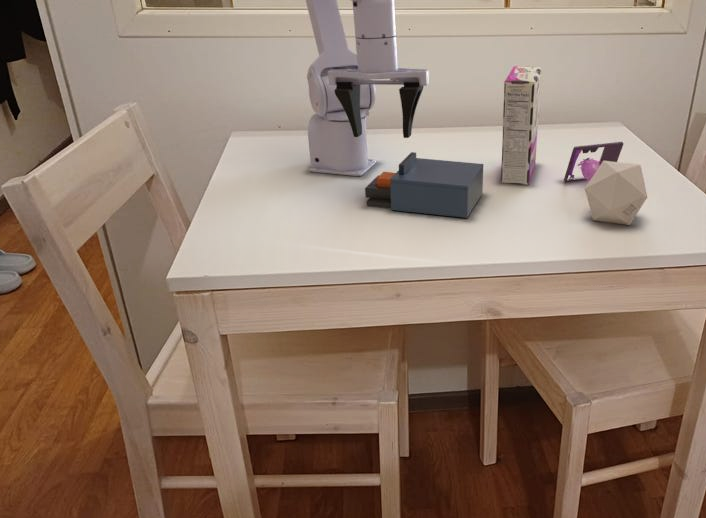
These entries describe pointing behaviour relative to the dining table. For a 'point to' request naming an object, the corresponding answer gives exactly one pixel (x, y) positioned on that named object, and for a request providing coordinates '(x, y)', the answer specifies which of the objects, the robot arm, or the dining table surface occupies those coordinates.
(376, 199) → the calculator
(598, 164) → the purple piece
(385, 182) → the on key
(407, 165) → the cover
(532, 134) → the candy bar box
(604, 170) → the die
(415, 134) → the dining table surface
